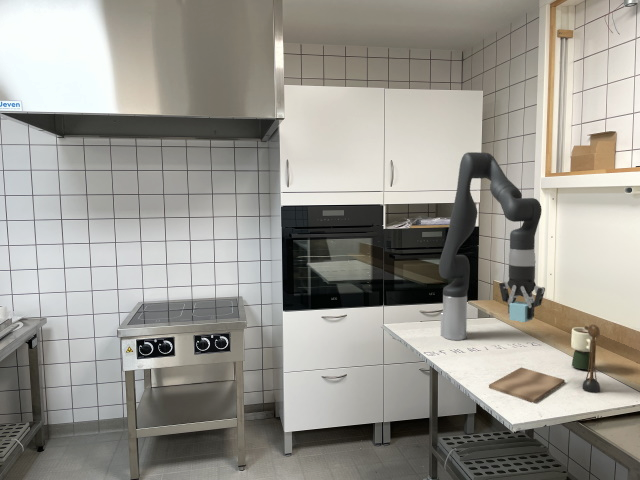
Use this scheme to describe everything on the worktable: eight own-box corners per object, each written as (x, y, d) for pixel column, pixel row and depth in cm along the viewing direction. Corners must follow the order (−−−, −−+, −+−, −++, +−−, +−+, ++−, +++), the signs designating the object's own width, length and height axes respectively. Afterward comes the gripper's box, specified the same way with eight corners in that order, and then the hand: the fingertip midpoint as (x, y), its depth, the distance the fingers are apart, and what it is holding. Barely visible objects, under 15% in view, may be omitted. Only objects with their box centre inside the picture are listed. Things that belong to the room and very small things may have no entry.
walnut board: (488, 387, 149) (488, 384, 149) (521, 370, 162) (521, 367, 162) (534, 403, 138) (534, 399, 138) (564, 382, 151) (564, 379, 151)
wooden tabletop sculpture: (576, 385, 149) (579, 321, 147) (590, 384, 150) (593, 320, 147) (589, 393, 144) (592, 327, 141) (603, 392, 144) (607, 326, 142)
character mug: (601, 374, 157) (603, 335, 155) (577, 374, 157) (579, 335, 156) (586, 362, 167) (588, 325, 166) (564, 361, 168) (566, 325, 167)
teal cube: (509, 319, 152) (509, 303, 152) (517, 316, 156) (517, 301, 155) (524, 322, 149) (525, 306, 148) (532, 319, 152) (532, 303, 151)
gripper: (493, 262, 153) (493, 315, 155) (539, 267, 142) (538, 324, 144) (506, 259, 158) (505, 311, 160) (550, 264, 147) (549, 319, 149)
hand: (521, 317), depth 152 cm, fingers closed on teal cube, 5 cm apart
